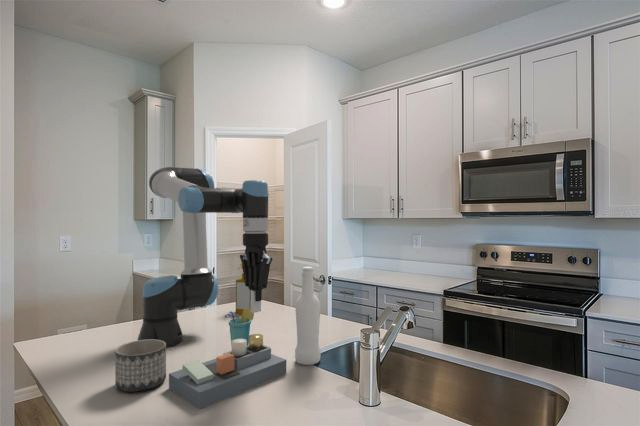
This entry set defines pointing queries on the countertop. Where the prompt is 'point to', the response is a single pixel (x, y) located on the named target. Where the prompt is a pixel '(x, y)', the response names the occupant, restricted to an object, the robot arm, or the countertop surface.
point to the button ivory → (239, 347)
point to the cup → (240, 325)
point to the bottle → (307, 322)
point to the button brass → (255, 342)
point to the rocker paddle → (198, 371)
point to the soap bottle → (242, 295)
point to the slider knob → (224, 363)
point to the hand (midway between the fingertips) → (255, 311)
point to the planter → (140, 365)
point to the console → (229, 377)
